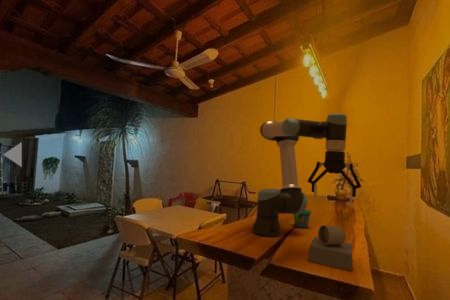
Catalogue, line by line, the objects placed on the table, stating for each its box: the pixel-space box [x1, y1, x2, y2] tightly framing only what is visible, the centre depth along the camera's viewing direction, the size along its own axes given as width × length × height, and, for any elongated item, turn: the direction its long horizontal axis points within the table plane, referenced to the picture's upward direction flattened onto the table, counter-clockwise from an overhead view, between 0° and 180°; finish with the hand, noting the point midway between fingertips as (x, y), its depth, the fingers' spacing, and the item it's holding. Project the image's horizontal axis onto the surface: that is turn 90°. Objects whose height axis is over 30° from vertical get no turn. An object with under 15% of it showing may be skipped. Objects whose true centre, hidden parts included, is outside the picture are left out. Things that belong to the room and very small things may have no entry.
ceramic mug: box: [317, 224, 346, 245], centre depth 104 cm, size 11×8×8 cm
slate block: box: [308, 236, 353, 272], centre depth 102 cm, size 15×15×6 cm
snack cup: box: [293, 208, 312, 229], centre depth 154 cm, size 16×10×10 cm
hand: (332, 202), depth 104 cm, fingers open, 13 cm apart
